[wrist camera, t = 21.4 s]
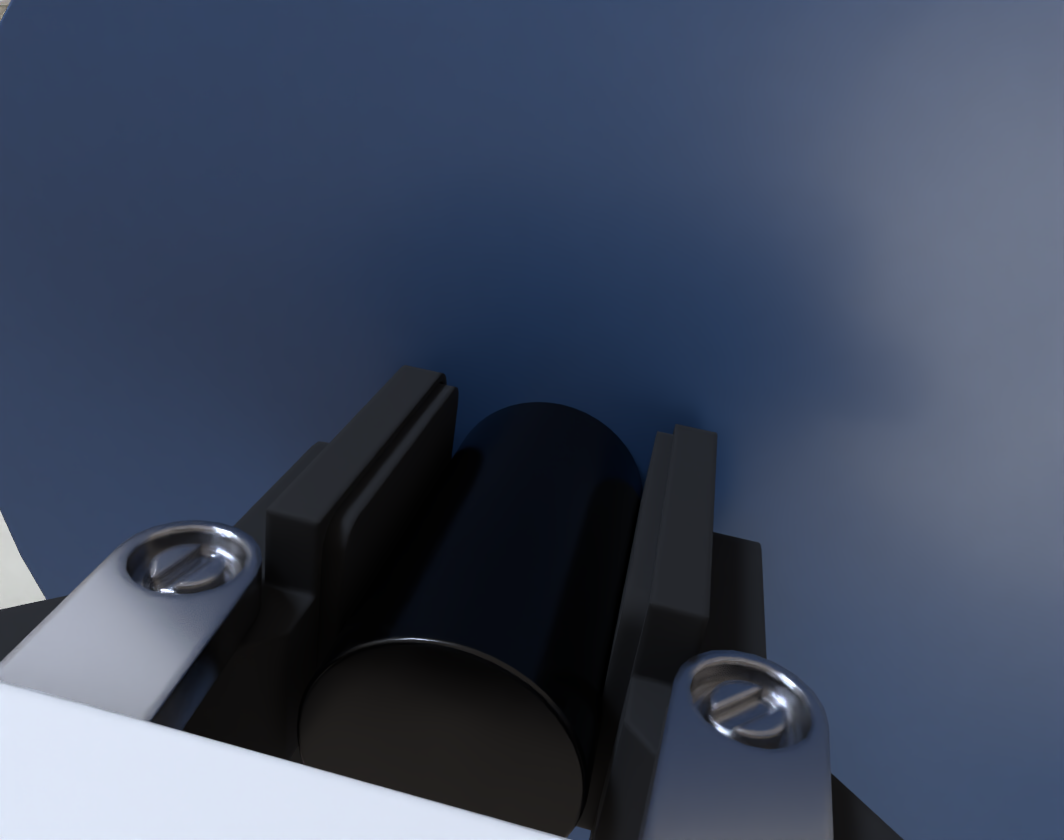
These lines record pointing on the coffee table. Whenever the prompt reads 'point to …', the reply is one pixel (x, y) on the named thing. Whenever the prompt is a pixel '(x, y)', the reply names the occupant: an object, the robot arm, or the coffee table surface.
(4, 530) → the coffee table surface
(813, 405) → the lid
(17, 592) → the coffee table surface
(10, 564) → the coffee table surface
